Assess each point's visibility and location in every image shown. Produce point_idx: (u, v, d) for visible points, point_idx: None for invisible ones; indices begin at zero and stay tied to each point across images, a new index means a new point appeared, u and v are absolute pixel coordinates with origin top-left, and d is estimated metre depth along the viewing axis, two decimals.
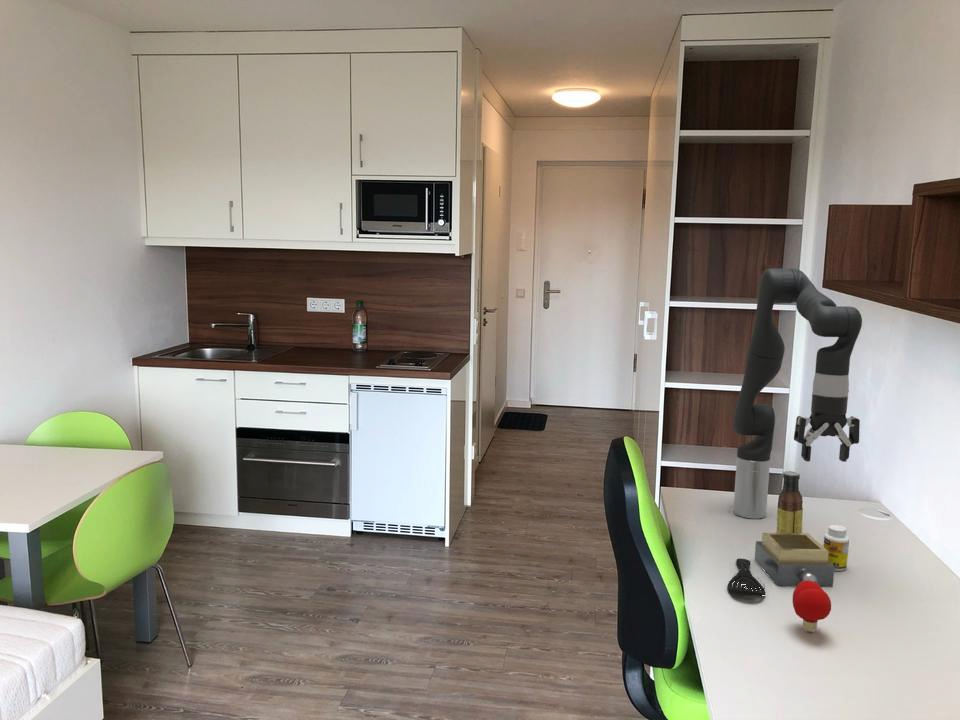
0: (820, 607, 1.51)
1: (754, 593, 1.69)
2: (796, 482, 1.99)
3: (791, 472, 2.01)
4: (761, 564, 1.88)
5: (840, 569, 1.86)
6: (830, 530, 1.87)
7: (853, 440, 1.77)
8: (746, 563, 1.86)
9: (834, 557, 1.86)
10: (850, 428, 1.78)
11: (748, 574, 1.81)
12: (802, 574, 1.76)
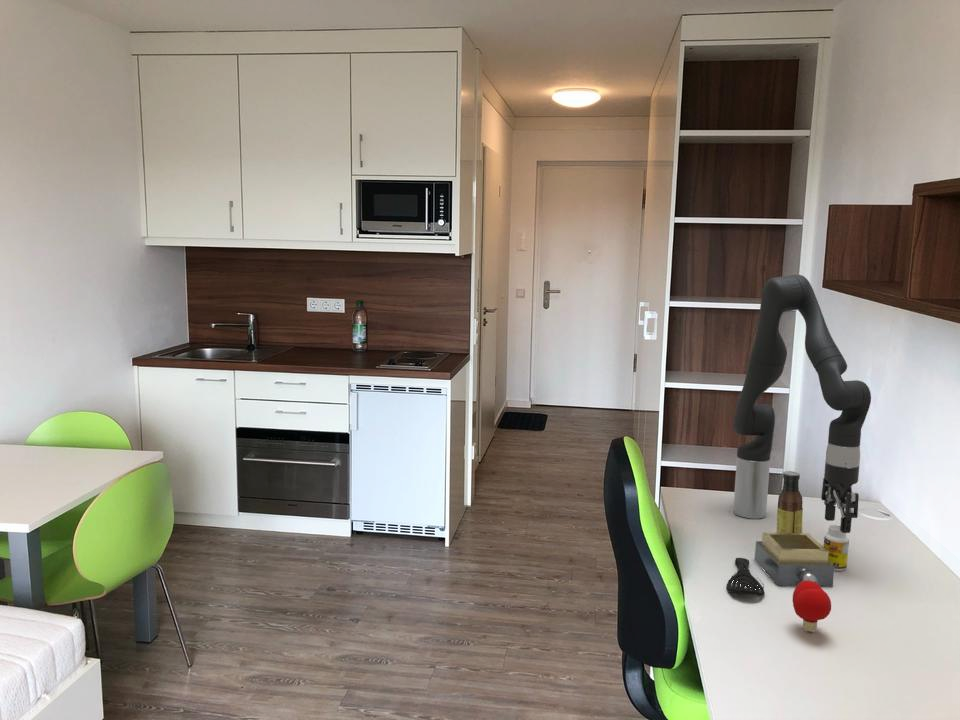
0: (820, 607, 1.51)
1: (753, 592, 1.69)
2: (796, 482, 1.99)
3: (791, 472, 2.01)
4: (761, 564, 1.88)
5: (840, 569, 1.86)
6: (830, 530, 1.87)
7: None
8: (745, 562, 1.86)
9: (834, 557, 1.86)
10: (826, 488, 1.92)
11: (747, 573, 1.82)
12: (802, 574, 1.76)
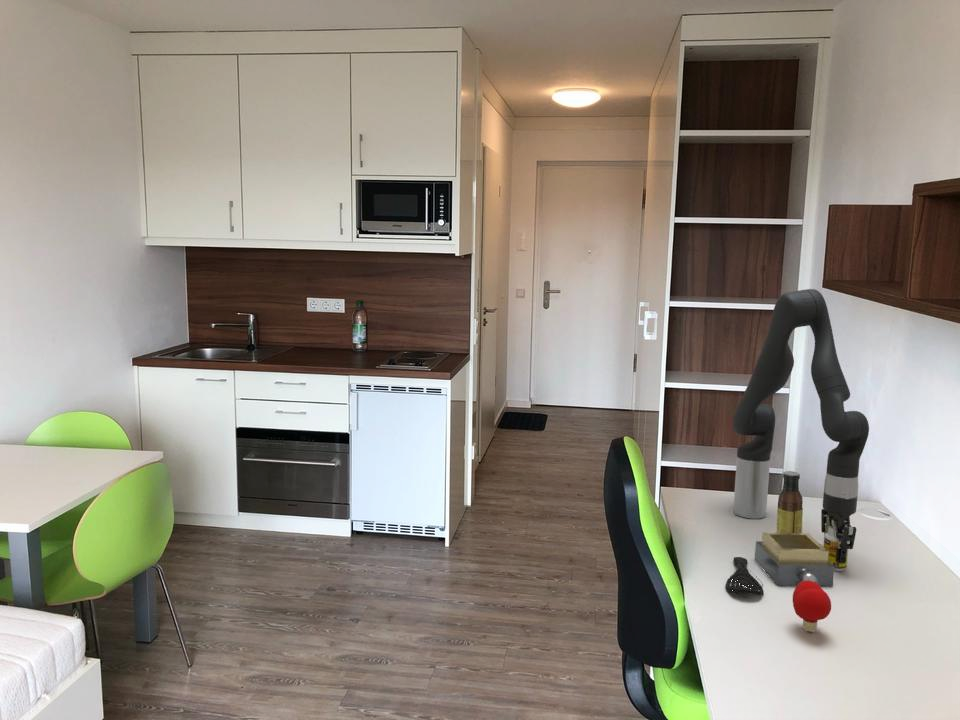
0: (820, 607, 1.51)
1: (752, 592, 1.69)
2: (796, 482, 1.99)
3: (791, 472, 2.01)
4: (761, 564, 1.88)
5: (840, 569, 1.86)
6: (830, 530, 1.87)
7: None
8: (743, 562, 1.87)
9: (834, 557, 1.86)
10: (825, 520, 1.93)
11: (746, 573, 1.82)
12: (802, 574, 1.76)
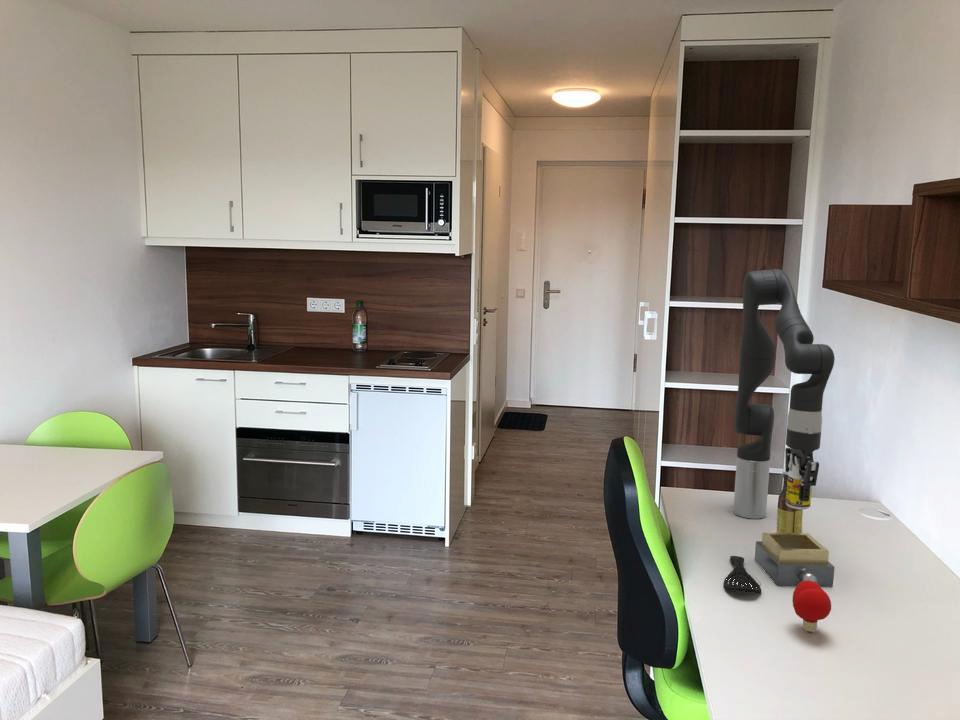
0: (820, 607, 1.51)
1: (751, 590, 1.70)
2: None
3: None
4: (761, 564, 1.88)
5: (803, 507, 1.80)
6: (793, 467, 1.81)
7: None
8: (740, 560, 1.88)
9: (797, 495, 1.80)
10: (789, 459, 1.87)
11: (743, 571, 1.83)
12: (802, 574, 1.76)
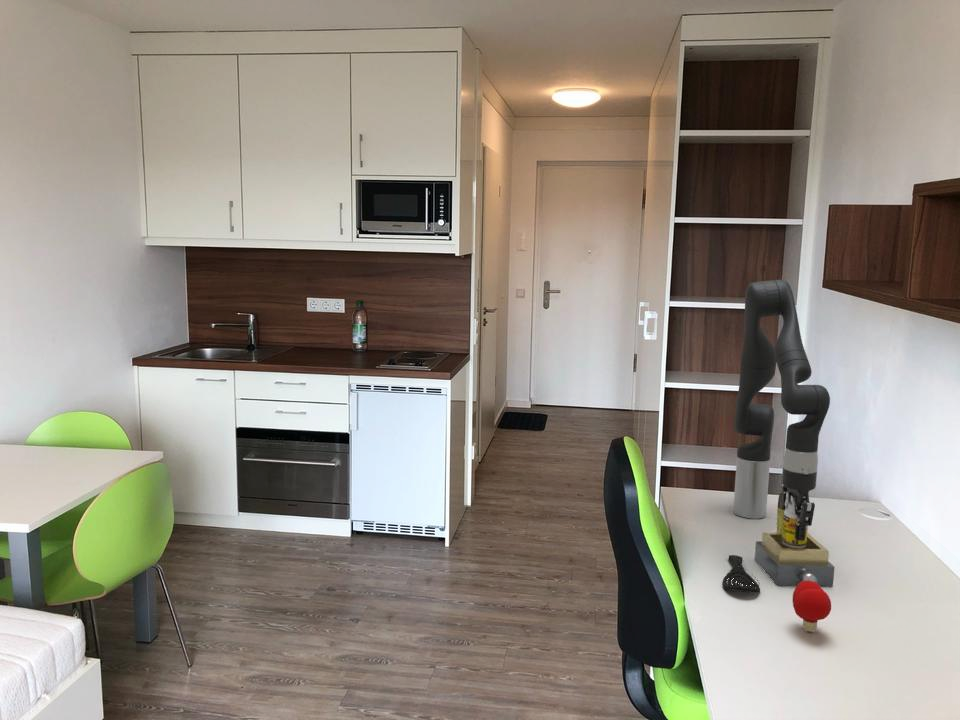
0: (820, 607, 1.51)
1: (750, 589, 1.70)
2: None
3: None
4: (761, 564, 1.88)
5: (799, 546, 1.82)
6: (789, 506, 1.82)
7: None
8: (739, 560, 1.88)
9: (793, 534, 1.81)
10: (786, 497, 1.88)
11: (741, 570, 1.83)
12: (802, 574, 1.76)
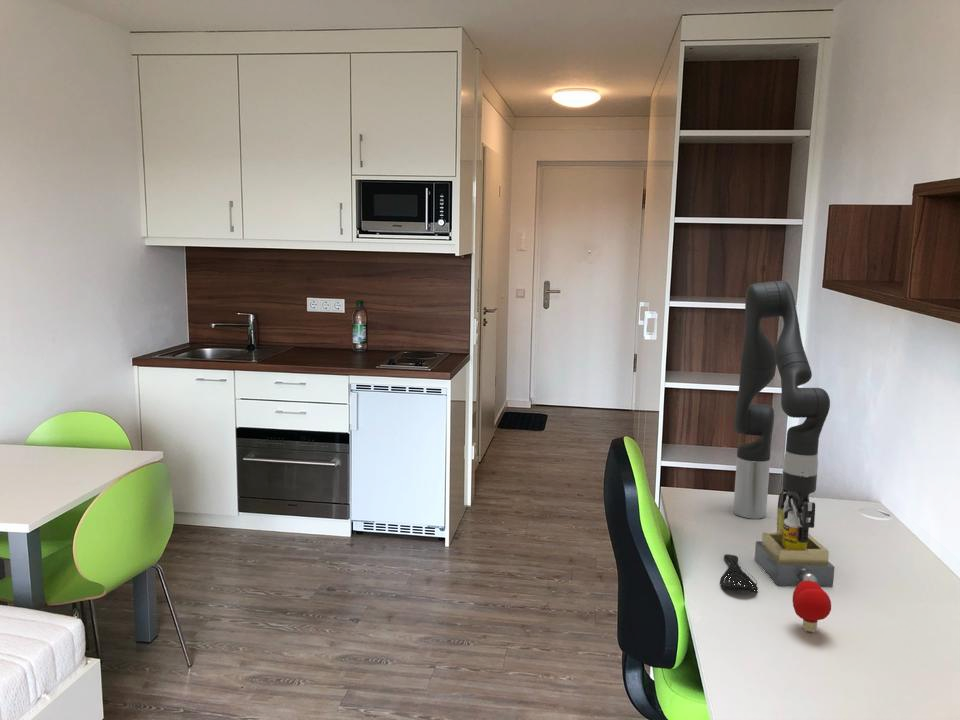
0: (820, 607, 1.51)
1: (748, 589, 1.71)
2: None
3: None
4: (761, 564, 1.88)
5: None
6: (789, 515, 1.83)
7: None
8: (735, 559, 1.89)
9: (793, 543, 1.82)
10: (785, 497, 1.88)
11: (738, 570, 1.84)
12: (802, 574, 1.76)
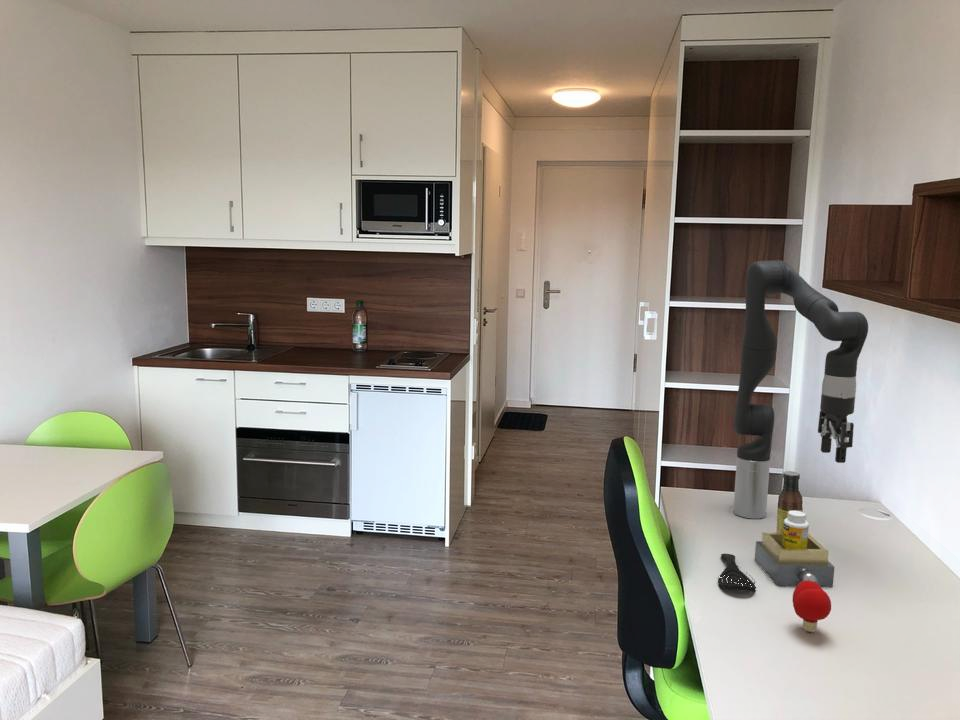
0: (820, 607, 1.51)
1: (746, 588, 1.71)
2: (796, 482, 1.99)
3: (791, 472, 2.01)
4: (761, 564, 1.88)
5: None
6: (789, 515, 1.83)
7: None
8: (732, 558, 1.89)
9: (793, 543, 1.82)
10: (823, 421, 1.93)
11: (736, 569, 1.84)
12: (802, 574, 1.76)
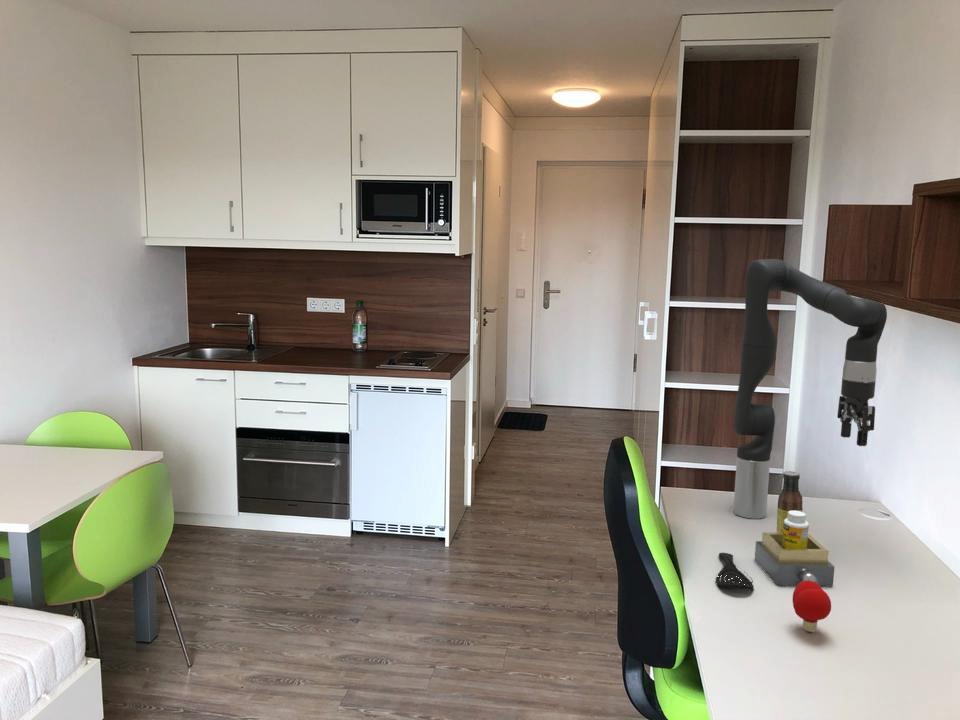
0: (820, 607, 1.51)
1: (744, 587, 1.72)
2: (796, 482, 1.99)
3: (791, 472, 2.01)
4: (761, 564, 1.88)
5: None
6: (789, 515, 1.83)
7: None
8: (730, 557, 1.90)
9: (793, 543, 1.82)
10: (843, 406, 1.97)
11: (733, 568, 1.85)
12: (802, 574, 1.76)
